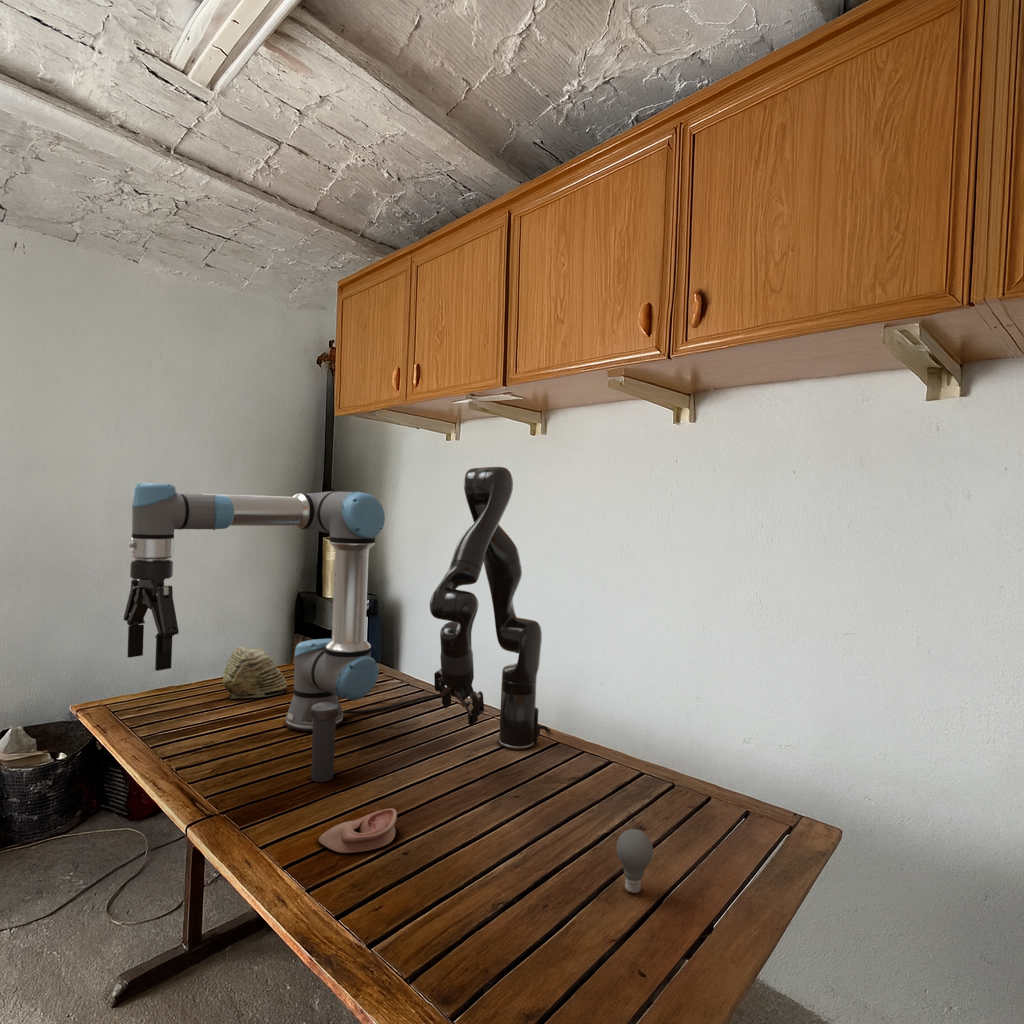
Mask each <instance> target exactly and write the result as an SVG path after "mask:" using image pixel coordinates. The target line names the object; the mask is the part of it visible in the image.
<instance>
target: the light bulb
mask: <svg viewBox="0 0 1024 1024" xmlns="http://www.w3.org/2000/svg"><path fill="white" fill-rule="evenodd" d="M615 849H616V854H617V857H618V859H619V861H620V863H621V865H622V867H623V873H624V874H623V875H624V876H625V878H624V888H625V890H627V891H628V892H630V893H634V894H635V893H639V892H640V891H641V889H642V887H641V886H642V879H643V877H644V875H645V871H646V868H647V867H648V866H649V864H650V863H651V861H652V859H653V855H654V847H653V843H652V841H651V838H649V836H648V835H647V834H646V833H645V832H643V831H642V830H641V829H636V828H629V829H627V830H625V831H623V832H622V833H621V834H620V835H619V837H618V839H617V841H616V847H615Z"/></svg>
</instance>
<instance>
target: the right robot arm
mask: <svg viewBox="0 0 1024 1024" xmlns="http://www.w3.org/2000/svg"><path fill="white" fill-rule="evenodd" d="M513 490H514V479H513V476H512V473H511V472H510V470H509V469H508V468H507V467H504V466H486V467H485V466H484V467H473V468H469V469H468V470H467V471H466V472H465V474H464V478H463V491H464V494H465V500H466V503H467V506H468V509H469V511H470V515H471V518H472V521H473V523H472V525H471V526H469V528H468V529H467V530H466V531H465V532H464V533H463V535H462V536H461V537H460V538H459V540H458V542H457V544H456V546H455V548H454V552H453V555H452V558H451V561H450V565H449V567H448V569H447V571H446V573H445V574H444V577H443V578H442V579H441V581H440V582H439V584H438V585H437V587H436V588H435V590H434V591H433V593H432V595H431V598H430V600H429V611H430V614H431V616H432V617H433V618H435V619H437V620H442V621H448V622H446V623H444V624H443V625H442V627H441V629H440V631H439V639H440V656H439V657H440V669H438V670H436V671H435V672H434V673H433V674H434V675H433V676H434V678H433V679H434V690H435V692H439V694H440V695H441V696H440V697H441V704H442V707H443V708H444V709H445V710H447V709H448V708H449V707H450V706H451V705H452V697H454V698H456V700H458V701H459V702H460V704H461V706H462V708H465V710H466V712H467V724H468V725H469V726H473V725H475V724H476V723H477V722H478V721H479V720H478V719H479V716H480V715H481V714H483V713H484V712H485V702H484V693H483V692H482V691H478V692H477V691H475V690H474V688H473V681H474V677H475V673H474V670H475V669H474V651H473V646H472V645H473V643H472V632H473V626H474V623H475V619H476V617H477V613H478V610H479V599H478V598H477V596H476V594H475V593H473V592H471V591H467V590H461V589H458V588H459V587H461V586H470V585H475V584H476V583H477V582H478V581H479V578H480V574H481V572H482V568H483V565H484V570H485V571H484V572H485V575H486V579H487V582H488V587H489V592H490V598H491V603H492V608H493V617H494V626H495V633H496V639H497V643H498V645H499V646H500V648H501V649H502V650H504V651H506V652H510V653H514V654H518V657H517V662H516V663H511V664H507V665H505V666H503V668H502V671H501V687H500V688H501V689H500V690H501V691H500V712H499V713H500V714H499V734H498V736H499V737H498V744H499V745H500V746H501V747H503V748H506V749H509V750H515V751H517V750H520V751H521V750H528V749H531V748H533V747H534V746H535V745H536V746H537V744H538V736H541V730H544V731H545V732H546V733H550V732H551V729H550V728H548V726H545V725H541V724H539V708H538V707H536V701H537V681H538V680H537V679H538V672H539V669H540V663H541V651H542V642H543V631H542V626H541V624H540V623H539V622H538V621H536V620H533V619H528V618H523V617H518V616H517V614H516V612H515V611H516V610H515V606H514V597H515V595H516V592H517V590H518V587H519V585H520V583H521V580H522V577H523V576H522V575H523V569H522V563H521V557H520V554H519V550H518V547H517V545H516V543H515V542H514V541H513V539H512V538H511V537H510V535H509V534H508V533H507V532H506V531H505V530H504V529H503V528H502V526H501V525H500V522H501V520H502V518H503V516H504V514H505V512H506V509H507V507H508V505H509V503H510V500H511V498H512V495H513ZM449 692H450V693H449ZM468 698H469V699H468ZM467 699H468V700H467ZM470 705H471V706H472V708H471V706H470Z"/></svg>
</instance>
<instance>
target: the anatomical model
mask: <svg viewBox="0 0 1024 1024" xmlns="http://www.w3.org/2000/svg"><path fill="white" fill-rule="evenodd" d="M397 816H398V813H397V810H396V809H395V808H392V807H390V808H384V809H380V810H377V811H374V812H371V813H369V814H366V815H364V816H362V817H360V818H357V819H354V820H348V821H343V822H341V823H339V824H335V825H334V826H332V827H330V828H328V830H326V831H324V832H323V833H322V834H321V835H320V836H319V837H318V842H319V843H320V844H321V845H322V846H324V847H325V848H327V849H329V850H332V851H333V852H336V853H339V854H351V853H361V852H367V851H372V850H376V849H380V848H382V847H385V846H387V845H389V844H390V843H392V842H393V840H394V839H395V837H396V833H397V832H396V827H395V825H396V823H397V818H398V817H397Z"/></svg>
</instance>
